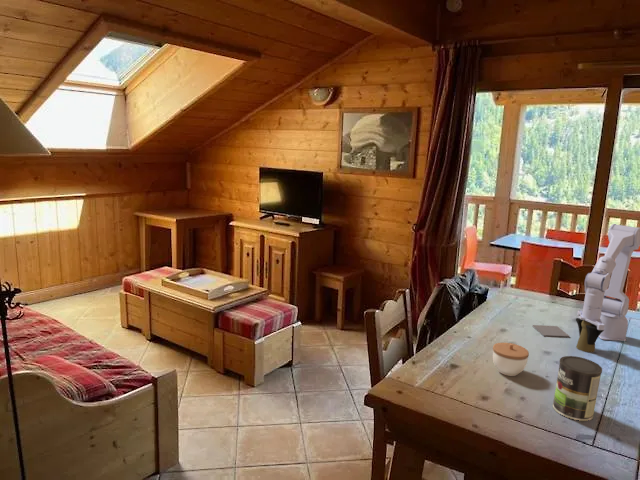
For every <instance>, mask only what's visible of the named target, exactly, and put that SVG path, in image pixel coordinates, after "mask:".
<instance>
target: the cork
mask: <svg viewBox="0 0 640 480" xmlns="http://www.w3.org/2000/svg"><path fill="white" fill-rule="evenodd" d="M586 325H591V326H592V323H590V322H587V321H585V320H583V321H582V323H581V326H582V331H581V334H580V336H579V337H578V340H577V343H576V349H577V350H579V351H581V352H585V353H594V352H595V351H596V343H595V344H594V345H589V344H588V343H587V336H588V334H587V328H586Z"/></svg>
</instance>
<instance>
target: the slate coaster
mask: <svg viewBox="0 0 640 480" xmlns="http://www.w3.org/2000/svg"><path fill="white" fill-rule="evenodd" d="M532 328H534V329H535V331H536V332H538V333H539V334H540V335H541V336H542V337H543V338H549V337H550V338H567V339H568V338H569V339H570V335H569V334H568V333H566V332H565V331H564V330H563V329H562V328H560V327H559V326H558V325H540V324H539V325H537V324H532Z"/></svg>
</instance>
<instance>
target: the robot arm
mask: <svg viewBox="0 0 640 480" xmlns="http://www.w3.org/2000/svg"><path fill="white" fill-rule="evenodd" d="M607 237H608V242H609V243H608V246H607V248H606V250H605V253H604V255H602V256H600V257H598V259H597V262H596V263H595V265H594V267H593V269H592V271H591V272H588V273H587V274H586V275H585V279H584V293H585V294H584V295H585V296H584V300H583V307H582V309H581V310H577V314H576V315H577V316H578V317H576V318H575V321H576V323H577V328H578V334H579V335H578V336H579V337H580V334H581V331H582V326H581V323H582V321H583V320H585V321H587V322H590V323H592V326H591V325H586V328H587V334H588V336H587V343H588V344H589V345H594V344H595V345H596V341H597V340H598V338H599V339H600V340H603V341H604V340H605V341H623V342H624V341H627V339H626V336H627V332H628V327H629V323H628V318H627V317H626V316H627V313H628V312H629V308H630V307H629V304H630V299H629V297H628V296H627V295H626V293H624V291H623V290H624V287H625V284H626V283H625V282H626V279H627V274H628V271H629V267H630V263H631V259H632V255H633V252H634V251H635V250H639V249H640V227H638V226H637V227H635V226H629V225H623V224H617V223H612V224H611V225H610V226H609V228H608V231H607Z"/></svg>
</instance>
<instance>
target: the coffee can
mask: <svg viewBox="0 0 640 480" xmlns="http://www.w3.org/2000/svg"><path fill="white" fill-rule="evenodd" d="M602 373H603V368H602V366H601V365H599V363H597V362H595V361H593V360H590V359H587V358H584V357H581V356H575V355H567V356H566V355H564V356H562V357H560V358H559V366H558V371H557V377H556V385H555V390H554V395H553V401H552V409H553V410H554V411H555V412H556V413H558V414H559V415H560V414H561V415H560V416H562V415H563V416H562V417H564V416H565V418H566V417H567V419H569V418H570V419H569V420H572V419H574V420H573V421H576V420H579V421H578V422H589V421H592V420H593V419H594V414H595V407H596V402H597V397H598V391H599V387H600V381H601V375H602ZM588 420H589V421H588Z"/></svg>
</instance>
